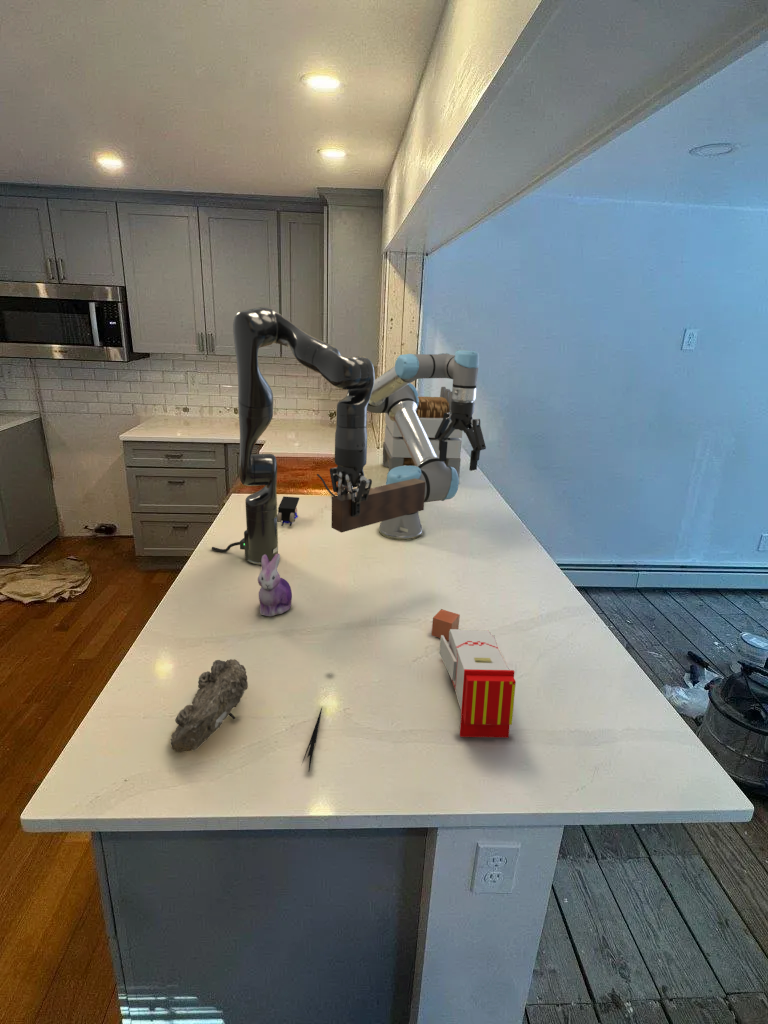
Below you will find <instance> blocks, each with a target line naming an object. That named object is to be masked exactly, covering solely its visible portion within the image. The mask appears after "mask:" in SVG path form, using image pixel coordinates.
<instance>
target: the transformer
mask: <svg viewBox="0 0 768 1024" xmlns="http://www.w3.org/2000/svg"><path fill="white" fill-rule="evenodd" d="M418 398H419V403H418V407H417V411H416V414H417V416H418V418H419V420H420V422H421V424H422V426H423V428H424V430H425V432H426V435H427V437H428V439H429V441H430V443H431V445H432V447H433V449H434V451H435V453H436V455H437V457H438V458H439V454H440V451H439V440H438V439H436V438H435V435H436V433H437V431H438V428H439V426H440V424H441V422H442V420H443V416H444V413H449V412H450V413H451V414H452V412H451V402H452V401H453V399H452V390H451V389H450V388H446V386H441V387H440V394H439V396H418ZM384 414H385V416H384V424H385V425H384V426H385V427H384V440H383V441H382V442H383V443H382V463H381V464H382V465H383V467H386V468H388V472H389V471H390V470H391V469H393V468H395V467H399V466H405V465H407V466H410V465H411V466H415V464H414V462H413V459H412V457H411V455H410V453H409V451H408V448H407V446H406V444H405V442H404V440H403V437H402V435H401V433H400V431H399V429H398V426H397V424H396V422H393V421H392V420H390V418H389V416H388V414H387V413H384ZM451 422H452V421H451V420H450V422H449V424H450V423H451ZM449 424H448V426H449ZM448 426H447V428H448ZM447 428H446V429H447ZM463 433H464V431H461V430H459V429H455V430H454V431H453V432H452V433H451V435H450V436H449V437H448V438H447V442H448V443H447V455H446V460H445V461H444V462H445V464H446V466H447V467H449V466H450V467H453V468H455V470H456V471H457V474H458V478H459V479H460V475H461V473H460V472H461V471H460V470H461V462H462V458H461V452H462V443H463V442H462V438H463Z"/></svg>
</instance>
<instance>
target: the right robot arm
mask: <svg viewBox="0 0 768 1024" xmlns="http://www.w3.org/2000/svg"><path fill="white" fill-rule="evenodd" d="M479 367H480V354H479V352H478V351H476V350H468V349H459V350H456V351H455V353H454V354H450V353H447V352H446V353H438V354H437V353H436V354H435V353H434V354H433V353H432V354H431V353H430V354H429V353H427V354H426V353H425V354H423V353H406V354H405V353H404V354H400V355H398V356H397V358H396V359H395V363H394V366H393V367H391V368H390V369H389V370H387V371H385V372H384V373H382V374H381V375H379V376H378V377H377V378H375V380H374V385H373V389H372V393H371V397H370V401H369V404H368V407H367V412H369V413H372V414H385V413H387V414H388V416H389V418H390V420H392V421H393V422H396V424H397V426H398V429H399V431H400V433H401V435H402V437H403V440H404V442H405V444H406V446H407V448H408V451H409V453H410V455H411V457H412V459H413V462H414V464H415V466H411V465H410V466H407V465H404V466H399V467H395V468H393V469H391V470H390V471H389V470H388V472H387V475H386V479H385V485H388V484H392V483H397V482H401V481H406V480H410V479H418V480H421V481H424V482H426V483H425V498H424V504H425V503H431V502H440V501H441V502H444V501H447V500H451V499H453V498H454V497H455V496H456V495H457V493H458V490H459V483H460V477H459V478H458V474H457V471H456V470H455V468H453V467H450V466H449V467H447V466H446V464H445V462H444V461H445V460H446V455H447V443H448V442H447V438H448V437H449V436H450V435H451V433H452V432H453V431H454V430H455V429H459V430H461V431H463V434H465V435H466V438H467V439H468V442H469V444H470V445H471V447H472V450H470V458H469V459H470V460H469V467H468V468H469V471H470V472H472V471H477V470H478V469H477V468H478V461H479V460H480V457H481V451H484V450H486V449H487V446H486V442H485V439H484V435H483V431H482V428H481V419H480V418H473V415H474V413H475V406H476V403H475V401H476V397H477V385H478V375H479ZM420 379H421V380H422V379H448V380H452V388H451V389H452V390H451V392H452V399H453V401H452V402H451V412H452V414H451V413H450V412H449V413H444V416H443V420H442V422H441V424H440V426H439V428H438V431H437V433H436V435H435V438H436V439H438V440H439V451H440V454H439V458H438V457H437V455H436V453H435V451H434V449H433V447H432V445H431V443H430V441H429V439H428V437H427V435H426V432H425V430H424V428H423V426H422V424H421V422H420V420H419V418H418V416H417V414H416V411H417V407H418V403H419V398H418V397H419V393H418V392H419V391H418V390H417V388H416V387H415V385H414V384H412V383H413V382H415V381H416V380H420ZM450 420H451V421H452V422H451V423H450V424H449V422H450ZM448 424H449V426H448ZM447 426H448V428H447ZM446 428H447V429H446ZM316 476H317V477H318V478H319V479H320V480H321V482H322V483H323V485H324V487H325V489H326V491H327V492H328V493H329V494H330V495H331V497H333V496H336V495H335V494H334V492H333V491H331V490H330V488H329V487H328V485H327V484H326V481H325V479H324V478H323V477H322V476H321V475H320V474H319V473H316ZM378 533H379V534H380V535H381V536H382V537H385V538H387V539H389V540H395V541H410V540H415V539H418V538H420V537H421V536H422V535H423V525H422V524H421V518H420V515H419V511H418V512H415V513H411V514H407V515H404V516H400V517H396V518H393V519H389V520H386V521H382V522H379V526H378Z"/></svg>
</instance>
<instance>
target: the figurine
mask: <svg viewBox="0 0 768 1024" xmlns="http://www.w3.org/2000/svg"><path fill="white" fill-rule="evenodd" d="M280 560H281V555H280V553H278V554H276V555H275V556H274V557H273V559H272V560H271V561H269V559H268V557H267V555H263V556H262V560H261V564H262V565H261V571H260V572H259V575H258V577H257V583H258V585H259V586H260V588H259V591H258V600H259V604H260V605H259V614H260V615H262V616H265V617H274V616H276V615H281V614H284V613H285V612H287V611H288V610H290V609H291V607H292V599H293V593H292V588H291V585H290V583H289V581H287V579H285V578H284V577H281V576H280V573H279V571H278V567H279V564H280Z"/></svg>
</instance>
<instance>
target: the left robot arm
mask: <svg viewBox="0 0 768 1024" xmlns="http://www.w3.org/2000/svg"><path fill="white" fill-rule="evenodd" d="M232 333H233V334H232V336H233V344H234V350H235V359H236V368H237V389H238V390H237V391H238V393H237V405H238V411H237V412H238V425H239V451H238V452H239V454H238V477H239V481H240V483H241V484H242V485H243V486H246V487H257V486H263V487H262V488H261V489H260V490H258V491H256V492H254V493H251V494H248V496H246V498H245V501H244V503H245V522H246V525H245V526H246V530H244V532H243V538H242V539H240V540H239V541H235V542H232V543H230V544H229V545H228V546H227V547H226V548H218V547H216V546H212V547H211V550H212V551H215V552H217V553H227V552H229V551H230V550H231V548H233V547H236V546H239V550H244V560H245V562H246V561H247V562H249V563H250V564H253V565H257V566H258V565H261V566H262V564H261V560H262V556H263V555H267V557H268V559H269V561H271V560H272V559H273V557H274V556H275V555H276V554H279V536H278V535H279V532H278V529H279V528H278V522H277V514H278V497H277V496H278V493H277V492H278V489H277V488H278V461H277V458H276V456H275V454H273V453H253V450H254V448H255V445H256V443H257V442H258V440H259V439H260V438H261V437H262V435H263V434H264V433H265V431H266V430H267V428H268V427H269V426H270V424H271V422H272V421H273V417H274V393H273V390H272V388H271V386H270V384H269V383H268V381H267V380H266V378H265V377H264V375H263V374H262V372H261V370H260V367H259V349H261V348H264V347H268V346H270V345H273V344H277V345H282V346H284V347H287V348H289V350H290V351H291V353H292V355H293V357H294V358H295V360H296V362H298V363H300V364H301V365H302V366H304V367H305V368H307V369H309V370H310V371H311V370H312V371H313V372H315V373H317V374H320V375H321V376H322V377H323V379H325V381H327V382H328V383H329V384H330V385H331V386H333V387H335V388H337V389H341V390H347V393H346V395H345V397H343V398H342V399H340V400H339V401H338V402H337V404H336V414H335V415H336V419H335V422H336V423H335V424H336V425H335V433H334V464H335V465H336V467H330V468H329V475H330V480H331V481H330V482H331V486H332V492H333V493H336V494H337V495H336V496H338V495H342V494H347V493H350V494H351V501H352V502H351V516H352V517H357V516H359V514H360V503H361V501H366V500H367V498H368V495H369V491H370V488H372V484H373V480H372V479H371V478H367V477H366V476H365V472H364V467H365V466H366V465H367V458H368V428H367V425H368V411H367V407H368V404H369V401H370V397H371V393H372V389H373V385H374V380H375V379H376V374H375V373H376V372H375V367H374V364H373V362H372V361H371V359H370V358H368V357H366V356H364V355H356V356H344V355H341V353H340V350H339V349H338V348H337V347H335V346H334V345H332V344H330V343H327V342H326V341H324V340H321V339H319V338H317V337H314V336H312V335H310V334H309V333H307V332H305V331H304V330H303V329H301V328H300V327H299V326H297V325H296V324H294V323H293V322H291V321H290V320H289V319H287V318H286V317H285V316H283V315H282V314H281V313H279V312H278V311H276V310H275V309H273V308H271V307H269V306H259V307H253V308H248V309H244V310H240V311H239V312H237V313H236V314H235V316H234V318H233V323H232ZM356 492H357V497H355V493H356ZM362 495H363V496H362Z"/></svg>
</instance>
